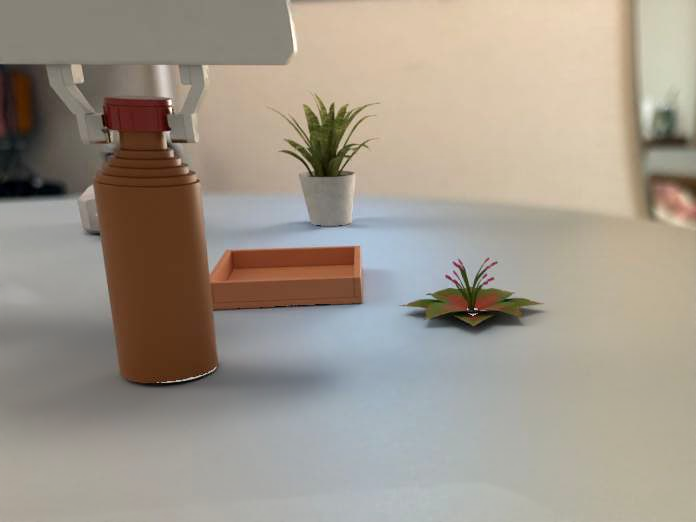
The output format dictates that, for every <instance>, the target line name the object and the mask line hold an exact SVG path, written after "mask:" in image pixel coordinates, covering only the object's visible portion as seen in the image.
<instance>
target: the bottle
mask: <svg viewBox="0 0 696 522" xmlns="http://www.w3.org/2000/svg"><path fill="white" fill-rule="evenodd" d="M166 132H167V131H164V132H131V131H117V139H118V146H115V147H114V148H113V154H110V155H108V156H107V162H104V163H102V164H101V170H98V171H95V174H94V175H95V179H93V180H92V185H93V187H94V194H95V201H96V208H97V215H98V222H99V229H100V234H99V235H100V236H99V237H100V242H101V243H100V244H101V249H102V256H103V263H104V270H105V277H106V278H105V279H106V285H107V291H108V292H107V293H108V298H109V306H110V312H111V313H110V314H111V321H112V326H113V334H114V340H115V347H116V355H117V362H118V369H119V375H120V376H121V377H122V378H123V379H125V380H127V381H129V382H132V383H133V382H134V383H138V382H139V384H145V383H157V382H159V383H161V382H167V381H176V380H183V379H187V378H190V377H196V376H199V375H203V374H205V373H208V372H209V371H211V370H213V369H214V368H215V367H216V366H217V364H218V365H219V361H218V360H219V358H218V350H217V348H218V347H217V340H216V339H217V338H216V328H215V319H214V318H215V317H214V310H213V307H212V297H211V286H210V276H209V275H210V267H209V255H208V245H207V235H206V225H205V216H204V215H205V214H204V205H203V194H202V183H201V180H200V179H199V178H198V177H197V172H196V171H194V170H191V169H190V165H189V164H188V163H185V162H183V161H182V157H181V155H178V154H175V153H174V152H175V151H174V148H172V147H169V146H168V140H167V133H166Z"/></svg>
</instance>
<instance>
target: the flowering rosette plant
mask: <svg viewBox="0 0 696 522" xmlns="http://www.w3.org/2000/svg"><path fill="white" fill-rule="evenodd" d="M457 260H458V262H459V264H458V263H457V262H456V261H451V263H452V264H453V266H454V267H456V268H458V270H459V272H460V275H461V277H462V278H460V277H459V275H458V273H457V272H456V270H452V273H453V274H454V275H455V277H457V279H458V280H459V282H460V283H459V282H458V280H456V279H455V278H452V277H451V275H448V274H446V275H444V277H445V279H446V280H448V281H451V282H452V283H453V284H454V285H455V287H456V288H454V287H447V288H444V289H440V290H437V291H435V292H433V293H432V292H431V293H430V292H428V293H426V294H425V295H426V296H431V297H432V298H423V299H417V300H414V301H411V302H408V303H407V304H400V305H399V307H409V308H420V309H426V312H425V316H424V317H423V319H422V321H426V320H429V319H432V318H433V319H434V318H436V317H438V316H442V315H445V314H448V313H451V315H452V316H453V317H455V318H457V319H459V320H461V321H464V322H465V323H467V324H470V325H471V326H472V327H475V326H476V325H478V324H480V323H481V322H483V321H485V320H488V319H489V318H491V317H493V316H494V315H495V313H494V311H496V312H497V311H499V312H503V313H506V314H509V315H512V316H516V317H518V318H521V319H525V317H524V316H523V314H522V311H521V310H520V308H524V307H530V306H539V305H544V303H542V302H538V301H536V300H535V301H534V300H531V299H527V298H523V297H522V298H521V297H512V298H511V296H512V295H514V294H515V292H512V291H507V290H502V289H499V288H495V287H490V288H483V286H485V285H488V284H489V282H492V281H494V280H495V277H494V276H492V277H490V278H488V279H487V280H485V281H483V280H484V279H485V278H486V277H488V273H487V272H486V271H488V269H491V268H492V267H493V266H495V265H498V263H499V262H498V260H497V261H493V262H492V263H491V264H490V265H487V266H485V267H484V269H483V270H482V268H483V266H484V265H485V263H487V262H488V261H489V260H490V257H489V256H488V257H487V258H486V259H485V260H484V262H482V265H481V266H480V268H479V270H478V271H477V272H476V275H475V277H474V280H473V282H472V286H470V282H469V278H468V275H467V271H466V268H465V266H464V265H463V264H464V263H463V262H462V260H461V259H460V258H457ZM471 275H473V273H472V272H471ZM481 277H482V278H481ZM472 278H473V276H471V279H472ZM480 278H481V279H480ZM461 279H462V280H463V282H464V283H463V282H462V280H461ZM482 281H483V282H482ZM481 282H482V283H481ZM480 283H481V284H480ZM464 285H465V286H464ZM509 297H510V298H509ZM433 298H434V299H433ZM467 308H468V309H469V310H467ZM474 308H477V309H478V310H474ZM480 310H487V311H480ZM462 311H468V313H469V311H474V312H477V311H480V312H479V313H478V314H476V315H474V316H472V315H470V314H468V313H466V312H462Z"/></svg>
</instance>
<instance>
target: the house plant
mask: <svg viewBox="0 0 696 522" xmlns="http://www.w3.org/2000/svg"><path fill="white" fill-rule="evenodd" d="M309 93H310V94H311V95H312V98H313V99H314V102H315V104H316V108H317V110H318V114H319V117H318V115H316V114H315V112H314V111H312V108H311V107H310V106H309V105H307V104H305V103H303V104H302V107H303V110H304V115H305V119H306V123H307V128H308V129H307V130H308V133H309V137H308V136H307V134H306V133H305V131H304V130H303V128H301V126H300V125H299V123H298V122H297V121H296V119H295V118H293V117H292V115H291V114H288V116H289V117H290V118H291V120H292V121H293V122H292V121H291V120H290V119H289V118H287V117H286V116H285V115H283V114H282V113H281V112H280V111H278V110H276V109H274V108H272V107H268V106H266V108H267V109H269V110H272V111H274V112H276V113H277V114H279V115H280V116H282V118H284V119H285V120H286V121H287V122H288V123H289V124H290V125H291V126H292V127H293V128H294V130H295V131H296V132H297V134H298V135H299V136H300V138H301V139H302V140H303V142H304V143H305V145H306V146H307V147H305V146H303V145H301V144H299V143H298V142H296V141H294V140H292V139H289V138H283V140H284V141H285V142H287V143H288V144H289V145H290V146H291V148H293V149H294V152H293V151H291V150H287V149H282V150H279V151H278V152H276V153H285V154H287V155H290V156H292V157H294V158H296V159H297V160H298V161H299V162H301V163H302V165H304V166H305V168H306V170H307V171H303V172H300V173H299V174H298V178H299V182H300V186H301V190H302V194H303V198H304V201H305V205H306V210H307V213H308V217H309V221H310V224H311V225H312V224H313V225H312V226H316V225H321V226H320V227H340V226H339V225H342V226H347V225H350V224H352V221H353V212H354V211H353V209H354V196H355V186H356V172H354V171H351V170H344V169H345V167H346V165H347V164H348V163H349V161H351V162H353V160H352V158H353V156H354V155H356V154H357V153H358V151H359V150H360V149H361V148H362V147H364V148H366V149H368V150H369V151H371V149H370V148H369V146H368V145H367V143H368V142H370V141H373V140H374V138H370V139H369V138H368V139H367V140H365V141H363V142H362V143H360V144H359V143H349V144H348V142H349V140H350V138H351V136H352V134H353V133H354V131H355V130H356V128H357V127H358V126H359V125H360V124H361V123H362V122H363V121H364V120H365V119H367V118H369V117H376V116H377V114H369V115H366V116H364V117H362V118H360V119H359V120H358V121H357V122H356V123H355V125H354V126H353V127H352V129H351V131H350V132H349V134H348V136H347V138H346V140H345V142H344V144H343V146H342V148H341V149H339V146H340V144H341V141H342V139H343V136H344V135H345V132H346V131H347V129H348V127H349V126H350V124H351V123H352V122H353V119H355V118H356V116H357V115H358V114H359V113H360V112H361V111H363V110H364V109H366V108H367V107H370V106H373V105H378V104H380V102H373V103H368V104H365V105H362V106H358V107H356V108H353V109H351V110H350V111H347V107H349V104H350V103H346V104H344V105H342V106H341V107H340V108H339V109H338V111H337V113H335V103H336V102H335V101H334V102H332V103H331V104H330V105H329V110H327V107H326V106H325V104H324V103H323V100H321V98H320V97H319V96H318V95H317V94H316V92H314V94H313V93H312V92H311V91H309ZM335 114H336V116H335ZM319 118H320V120H319ZM320 122H321V123H320ZM379 139H380V138H377V137H376V138H375V140H379ZM353 146H357V147H353ZM338 149H339V150H338ZM296 151H297V152H299V154H300V155H301V156H300V155H299V154H297V153H296ZM350 151H353V152H352V153H351V154H350V155H349V154H348V153H349V152H350ZM302 157H303V158H304V159H305V160H306V161H307V162H308V163H309V164H310V166H311V168H312V169H313V170H311V168H310V166H309V165H308V163H307V162H306V161H305V160H304V159H303V158H302ZM345 158H346V159H347V160H346V161H344V164H343V165H342V163H343V160H344V159H345ZM341 166H342V167H341ZM340 167H341V168H340ZM349 223H350V224H349ZM346 224H347V225H346Z"/></svg>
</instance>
